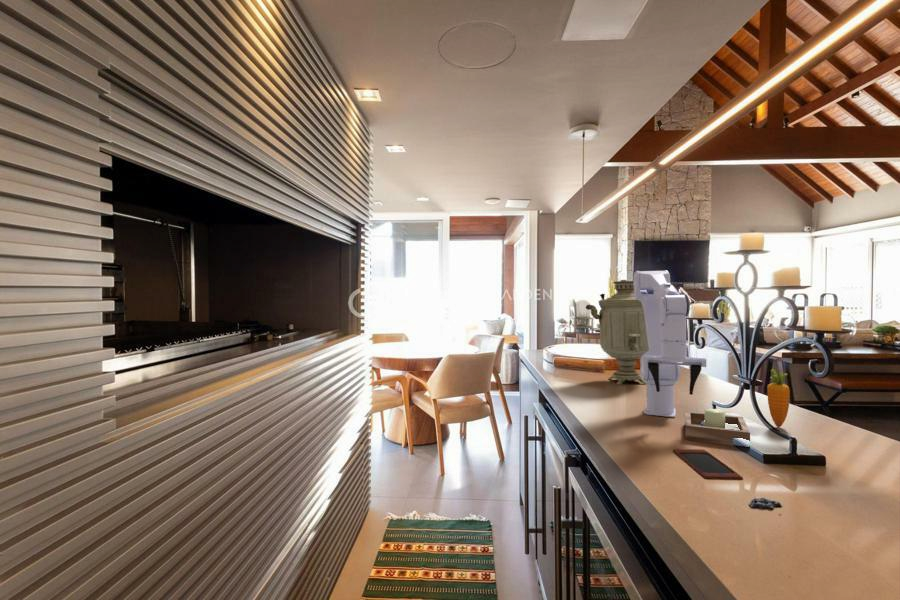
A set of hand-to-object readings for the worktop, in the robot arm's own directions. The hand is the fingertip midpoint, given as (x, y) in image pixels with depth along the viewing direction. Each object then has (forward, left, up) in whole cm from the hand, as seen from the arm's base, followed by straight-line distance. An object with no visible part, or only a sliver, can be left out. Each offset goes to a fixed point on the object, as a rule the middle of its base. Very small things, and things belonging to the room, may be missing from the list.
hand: (674, 392), depth 115 cm
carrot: (-12, +24, -10) cm, 28 cm away
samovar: (-55, -18, -10) cm, 59 cm away
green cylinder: (+2, +9, -8) cm, 12 cm away
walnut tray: (+2, +9, -9) cm, 13 cm away
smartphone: (+24, +6, -10) cm, 27 cm away
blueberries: (+40, +14, -10) cm, 44 cm away
